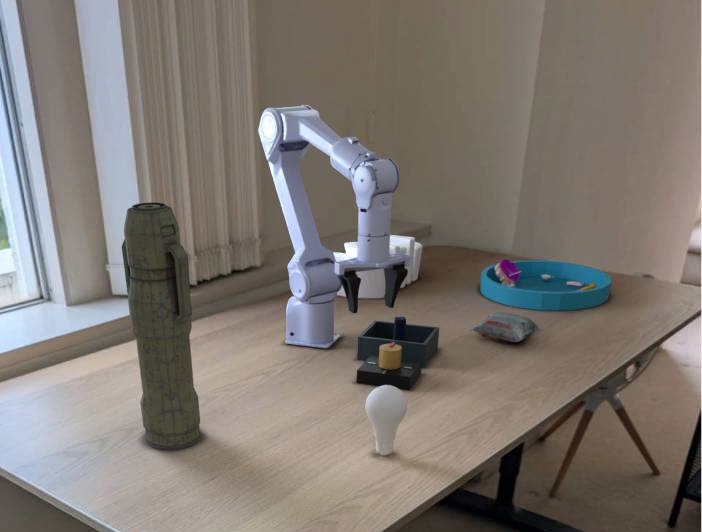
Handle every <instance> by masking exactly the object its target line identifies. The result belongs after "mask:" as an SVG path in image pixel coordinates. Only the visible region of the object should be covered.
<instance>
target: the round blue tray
mask: <svg viewBox="0 0 702 532" xmlns="http://www.w3.org/2000/svg"><path fill="white" fill-rule="evenodd" d="M612 282H613V281H612V277H611V276H610V274H608V273H606V272H605V271H603V270H600V269H597V268H594V267H592V266H587V265H584V264H580V263H573V262H566V261H556V260H540V259H539V260H537V259H536V260H535V259H534V260H532V259H529V260H514V261H513V260H512V261H511V260H509V259H507V258H503V259H502V260H501V261H500V262H499V263H495V264H492V265H489V266H487V267H485V268H484V269H483V270H481V275H480V286H479V290H480V293H481V294H482V295H483V296H484V297H485V298H487V299H489V300H491V301H493V302H496V303H500V304H502V305H506V306H510V307H516V308H520V309H521V308H522V309H528V310H537V311H538V310H540V311H575V310H583V309H589V308H593V307H596V306H600V305H602V304H604V303H605V302H607V301H608V299H609V296H610V292H611V286H612Z"/></svg>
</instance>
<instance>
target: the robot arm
mask: <svg viewBox="0 0 702 532" xmlns="http://www.w3.org/2000/svg"><path fill="white" fill-rule="evenodd" d="M257 132H258V136H259V138H260V142H261V144H262V145H261V146H262V148H263V151H264V154H265V155H264V156H265V158H266V160H267V162H268V166H269V169H270V173H271V176H272V178H273V179H272V181H273V183H274V186H275V190H276V193H277V196H278V200H279V203H280V207H281V210H282V212H283V213H282V214H283V217H284V219H285V223H286V227H287V230H288V233H289V237H290V240H291V244H292V247H293V250H294V254H293V256H292V258H291V260H290V261H289V263H288V264H287V266H286V268H287V271H288V276H289V282H288V283H289V288H290V290H291V293H292V295H293V296H290V298H289V299H288V301H287V304H286V308H285V309H286V310H285V316H286V317H285V320H286V321H285V324H286V325H285V328H286V329H285V331H286V333H285V335H286V340H285V341H284V343H285V344H287V345H295V346H302V347H310V348H311V347H312V348H319V349H330V348H331V347H332V345H333V344H335V343H336V342H337V341H338V340H340V338H341V334H337V333H335V298H338V295H337V292H338V291H340V289H341V288H342V286H343V288H344V291H345V294H346V297H345V298H346V301H347V302H346V303H347V307H348V311H349V312H351V313H352V314H357V313H358V309H359V298H358V292H359V287H360V282H361V278H359V277H357V274H356V272H360V271H368V270H376V269H384V275H385V295H384V306H385V307H388V308H389V309H394V307H395V305H396V300H397V296H398V294H399V291H400V289H401V288H400V287H401V285H402V283H403V281H404V279H405V278H406V276H407V274H408V269H406V268H405V267H408V266H410V260H411V256H410V255H408V254H389V247H390V235H391V226H392V225H391V224H392V206H393V205H392V204H393V203H392V201H393V194H394V193H395V192H396V191H397V190H398V188H399V186H400V181H401V172H400V169H399V166H398V165H397V163H396V162H395V160H393V158H392V157H382V158H381V157H378V156H377V153H376V152H374V151H373V150H369V149H368V148H366V147H365V146H364V145H362V144H361V143H359V142H360V139H359V138H358V137H356V136H346V137H343V138H342V137H341V136H340V135H338V133H336V132H335V131H334V129H332V128H331V127H330V126H328V125H327V123H325V122H324V121H323V120H322V119H321V118H320V113H319V111H318V110H316V109H314V108H313V107H312V106H310V105H309V104H302V105H298V106H285V107H267V108H265V109H264V111H263V112H262V113H261V116H260V120H259V125H258V129H257ZM311 145H312V146H314V147H315V148H316V149H318V150H320V151H321V152H323V153H324V154H326V155H327V156H329V159H330V160H329V161H330V164H331V167H332V168H333V169H335V170H336V171H337V172H339V173H340V174H341V175H342V176H343V177H344V178H346V179H347V180H348V181H350V182H351V185H352V189H353V191H354V194H355V204H356V206H357V208H358V219H357V224H358V225H357V242H358V254H357V257H355V258H352V259H348V260H344V261H339V262H336V259H335V256H334V253H333V252H334V251H331V250H330V249H328V248H327V247H325V246H324V245H322V242H321V239H320V236H319V232H318V228H317V225H316V222H315V219H314V216H313V215H314V214H313V212H312V207H311V205H310V201H309V198H308V195H307V191H306V188H305V184H304V181H303V177H302V173H301V171H300V168H299V163H300V161H301V159H302V158H303V157H305V155H306V153H307V152H308V150H309V148H310V146H311ZM315 264H316V265H315Z"/></svg>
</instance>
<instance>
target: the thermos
mask: <svg viewBox="0 0 702 532" xmlns="http://www.w3.org/2000/svg"><path fill="white" fill-rule="evenodd" d="M123 235H124V239H123V242H122V245H121V254H122V260H123V261H122V262H123V268H124V276H125V285H126V293H127V303H128V311H129V319H130V329H131V333H132V334H133V336H134V338H135V342H136V349H137V357H138V365H139V366H138V367H139V373H140V380H141V382H140V383H141V390H142V394H141V398H140V401H139V402H140V409H141V410H140V412H141V420H142V426H143V428H144V431H145V442H146V443H147V445H148V446H150V447H151V448H154V449H158V450H165V451H173V450H174V451H175V450H181V449H186V448H188V447H192V446H194V445H195V444H197V443H198V442H199V441H200V439H201V430H200V424H201V413H200V412H201V411H200V403H199V402H200V401H199V395H198V393H197V391H196V389H195V384H194V371H193V361H192V349H191V339H190V337H191V336H190V335H191V331H192V315H193V309H192V302H191V284H190V269H189V268H190V266H189V256H188V254H187V252H186V250H185V248H184V246H183V245H182V244H181V235H180V226H179V223H178V220H177V218H176V215H175V213H174V210H173V208H172V207H171V206H169V205H167V204H166V203H164V202H155V201H153V202H140V203H136V204H132V206H131V207H129V208H127V210H126V214H125V220H124V227H123Z"/></svg>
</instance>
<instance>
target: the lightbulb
mask: <svg viewBox="0 0 702 532" xmlns="http://www.w3.org/2000/svg"><path fill="white" fill-rule="evenodd" d="M407 411H408V400H407V397H406V395H405V393H404V392H403V391H402V389H398V388H396V387H394V386H391V385H383V386H376V387H375V388H374V389H372V391H371V392H369V394H368V395H367V398H366V400H365V412H366V415H367V417H368V420H369V421H370V423H371V426H372V428H373V436H374V440H375V451H376V453H377V454H380V455H381V456H387V455H389V454H391V453H392V452H393V450H394V449H393V448H394V441H395V440H396V435H397V431H398V428H399V426H400V424H401V423H402V421H403V419H405V416H406V414H407Z"/></svg>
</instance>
